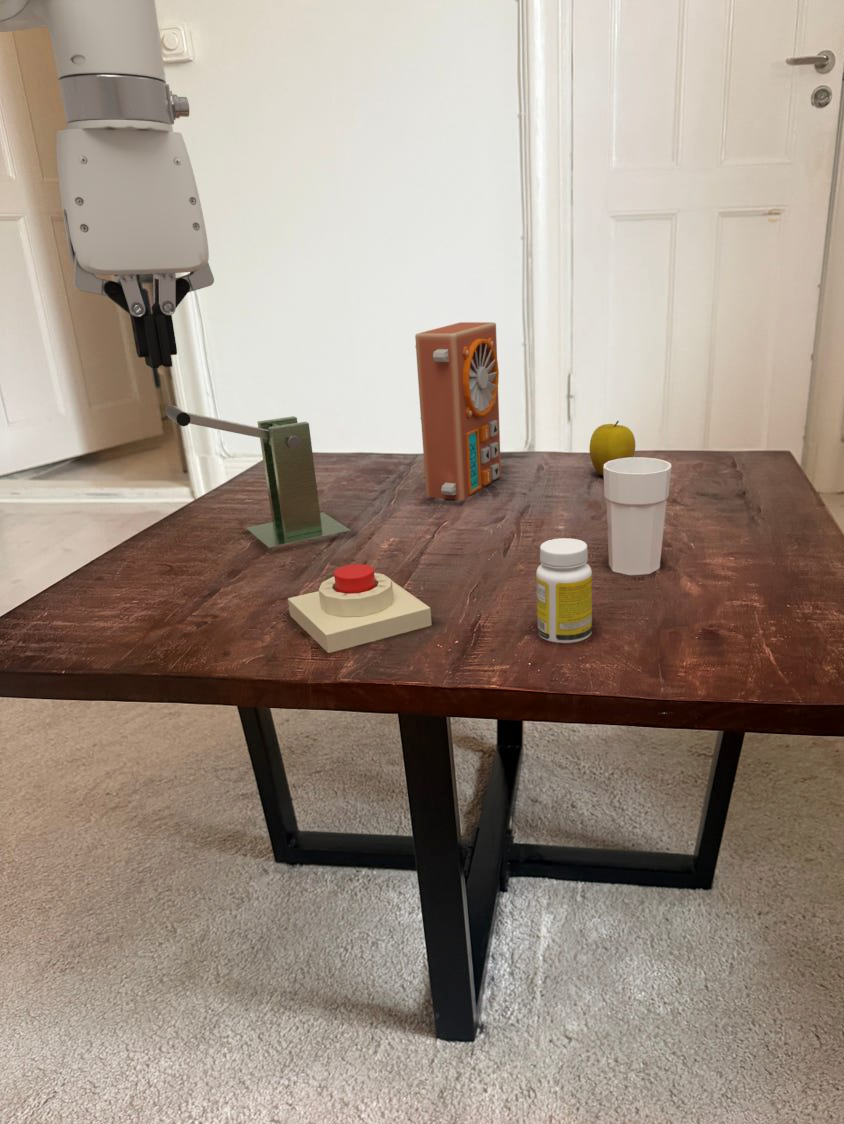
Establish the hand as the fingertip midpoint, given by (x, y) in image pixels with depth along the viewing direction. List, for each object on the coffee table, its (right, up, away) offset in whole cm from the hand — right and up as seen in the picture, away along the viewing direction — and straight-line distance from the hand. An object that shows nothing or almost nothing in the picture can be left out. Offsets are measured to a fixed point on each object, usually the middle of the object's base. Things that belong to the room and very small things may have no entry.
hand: (159, 365), depth 74 cm
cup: (+43, -16, +18) cm, 49 cm away
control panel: (+25, -3, +47) cm, 53 cm away
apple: (+45, 0, +52) cm, 69 cm away
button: (+15, -18, +7) cm, 25 cm away
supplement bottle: (+34, -23, +4) cm, 41 cm away
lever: (0, -1, +25) cm, 24 cm away
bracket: (+5, -11, +32) cm, 35 cm away
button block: (+16, -21, +8) cm, 28 cm away
